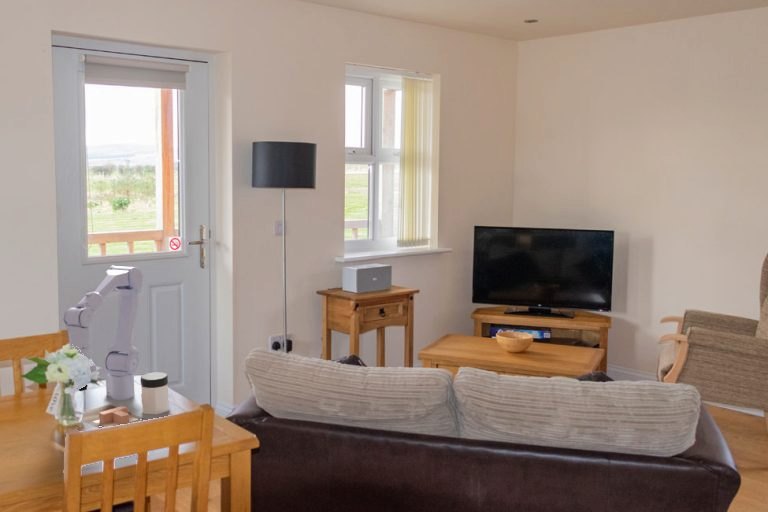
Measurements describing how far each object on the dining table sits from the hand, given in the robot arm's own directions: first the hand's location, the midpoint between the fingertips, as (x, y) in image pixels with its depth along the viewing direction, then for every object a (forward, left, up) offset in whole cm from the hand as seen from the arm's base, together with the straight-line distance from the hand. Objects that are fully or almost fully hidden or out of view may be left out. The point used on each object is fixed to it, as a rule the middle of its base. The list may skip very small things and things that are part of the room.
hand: (82, 390), depth 242 cm
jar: (+11, +18, -10) cm, 23 cm away
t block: (+12, +5, -8) cm, 16 cm away
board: (+6, +5, -9) cm, 12 cm away
